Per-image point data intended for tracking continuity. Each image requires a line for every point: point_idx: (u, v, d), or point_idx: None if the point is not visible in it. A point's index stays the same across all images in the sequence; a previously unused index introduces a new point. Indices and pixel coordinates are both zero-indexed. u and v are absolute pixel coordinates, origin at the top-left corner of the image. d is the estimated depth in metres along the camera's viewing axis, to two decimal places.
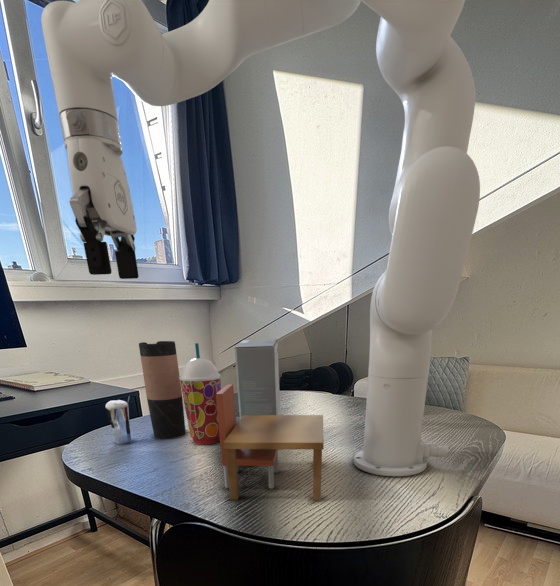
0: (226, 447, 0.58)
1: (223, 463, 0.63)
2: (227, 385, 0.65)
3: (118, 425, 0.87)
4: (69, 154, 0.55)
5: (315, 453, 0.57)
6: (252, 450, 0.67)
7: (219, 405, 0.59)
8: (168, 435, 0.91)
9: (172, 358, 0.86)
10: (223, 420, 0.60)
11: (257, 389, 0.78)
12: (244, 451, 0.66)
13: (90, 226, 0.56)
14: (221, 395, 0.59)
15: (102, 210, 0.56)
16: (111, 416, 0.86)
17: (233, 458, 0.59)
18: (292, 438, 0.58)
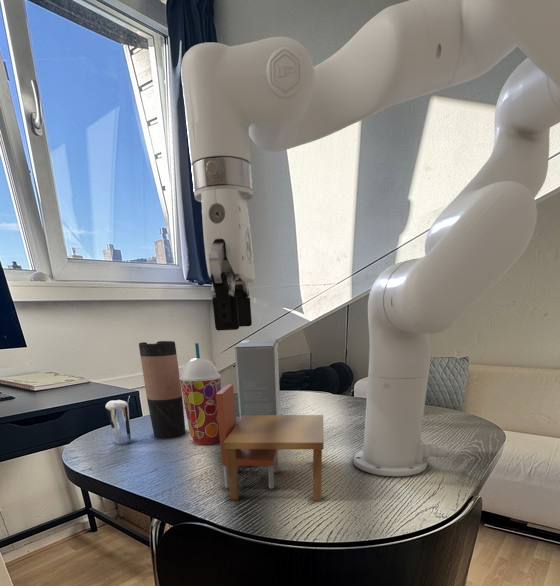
0: (226, 447, 0.58)
1: (223, 463, 0.63)
2: (227, 385, 0.65)
3: (118, 425, 0.87)
4: (204, 206, 0.50)
5: (315, 453, 0.57)
6: (252, 450, 0.67)
7: (219, 405, 0.59)
8: (168, 435, 0.91)
9: (172, 358, 0.86)
10: (223, 420, 0.60)
11: (257, 388, 0.78)
12: (244, 451, 0.66)
13: (225, 282, 0.51)
14: (221, 395, 0.59)
15: (236, 264, 0.52)
16: (111, 416, 0.86)
17: (233, 458, 0.59)
18: (292, 438, 0.58)
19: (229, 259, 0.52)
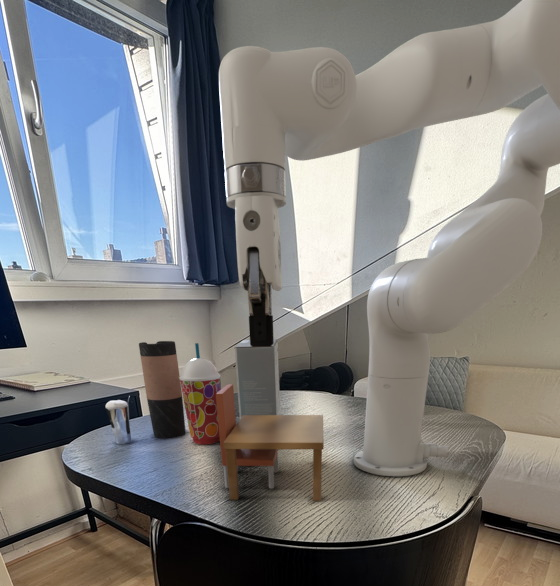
0: (226, 447, 0.58)
1: (223, 463, 0.63)
2: (227, 385, 0.65)
3: (118, 425, 0.87)
4: (239, 212, 0.49)
5: (315, 453, 0.57)
6: (252, 450, 0.67)
7: (219, 405, 0.59)
8: (168, 435, 0.91)
9: (172, 358, 0.86)
10: (223, 420, 0.60)
11: (257, 388, 0.78)
12: (244, 451, 0.66)
13: (263, 303, 0.54)
14: (221, 395, 0.59)
15: (269, 272, 0.51)
16: (111, 416, 0.86)
17: (233, 458, 0.59)
18: (292, 438, 0.58)
19: (262, 267, 0.50)
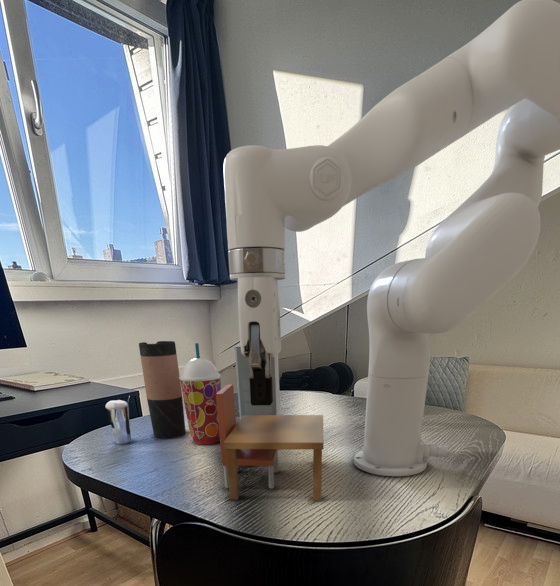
0: (226, 447, 0.58)
1: (223, 463, 0.63)
2: (227, 385, 0.65)
3: (118, 425, 0.87)
4: (241, 291, 0.52)
5: (315, 453, 0.57)
6: (252, 450, 0.67)
7: (219, 405, 0.59)
8: (168, 435, 0.91)
9: (172, 358, 0.86)
10: (223, 420, 0.60)
11: None
12: (244, 451, 0.66)
13: (263, 368, 0.58)
14: (221, 395, 0.59)
15: (269, 344, 0.54)
16: (111, 416, 0.86)
17: (233, 458, 0.59)
18: (292, 438, 0.58)
19: (262, 340, 0.54)
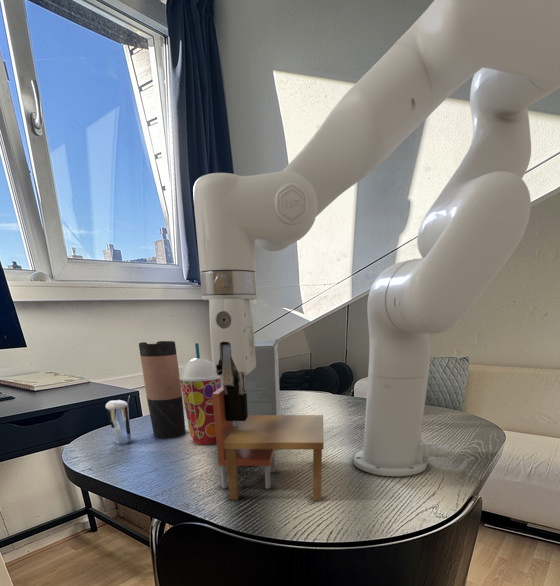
0: (226, 447, 0.58)
1: (219, 463, 0.63)
2: None
3: (118, 425, 0.87)
4: (212, 312, 0.54)
5: (315, 453, 0.57)
6: (249, 450, 0.67)
7: (216, 405, 0.59)
8: (168, 435, 0.91)
9: (172, 358, 0.86)
10: (219, 420, 0.60)
11: (257, 388, 0.78)
12: (241, 451, 0.66)
13: (237, 386, 0.59)
14: (217, 395, 0.59)
15: (240, 364, 0.56)
16: (111, 416, 0.86)
17: (233, 458, 0.59)
18: (292, 438, 0.58)
19: (234, 359, 0.55)
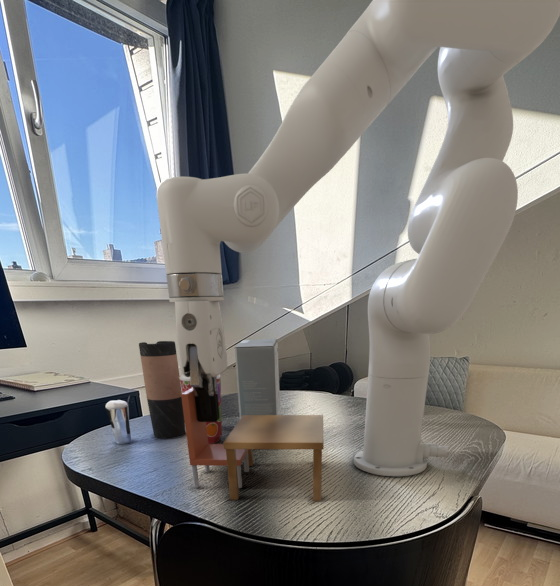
0: (226, 447, 0.58)
1: (190, 463, 0.64)
2: None
3: (118, 425, 0.87)
4: (178, 314, 0.54)
5: (315, 453, 0.57)
6: (221, 450, 0.67)
7: (185, 406, 0.60)
8: (168, 435, 0.91)
9: (172, 358, 0.86)
10: (189, 420, 0.61)
11: (257, 388, 0.78)
12: (213, 451, 0.66)
13: (206, 387, 0.60)
14: (186, 395, 0.59)
15: (207, 365, 0.56)
16: (111, 416, 0.86)
17: (233, 458, 0.59)
18: (292, 438, 0.58)
19: (200, 361, 0.56)
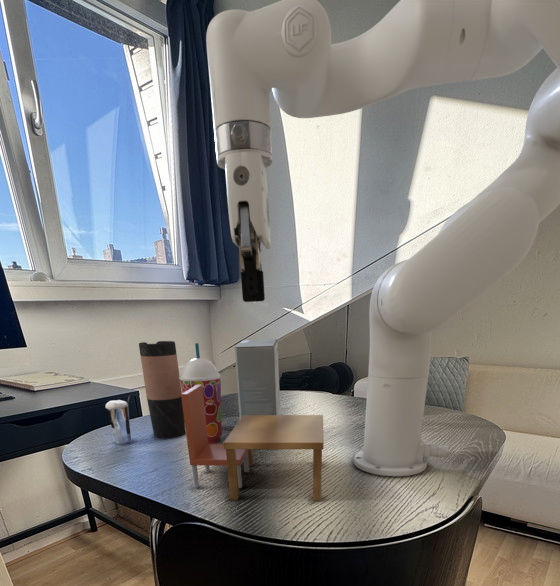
0: (226, 447, 0.58)
1: (190, 463, 0.64)
2: (196, 385, 0.65)
3: (118, 425, 0.87)
4: (229, 168, 0.52)
5: (315, 453, 0.57)
6: (221, 450, 0.67)
7: (185, 406, 0.60)
8: (168, 435, 0.91)
9: (172, 358, 0.86)
10: (189, 420, 0.61)
11: (257, 388, 0.78)
12: (213, 451, 0.66)
13: (254, 257, 0.58)
14: (186, 395, 0.59)
15: (259, 225, 0.54)
16: (111, 416, 0.86)
17: (233, 458, 0.59)
18: (292, 438, 0.58)
19: (252, 221, 0.54)
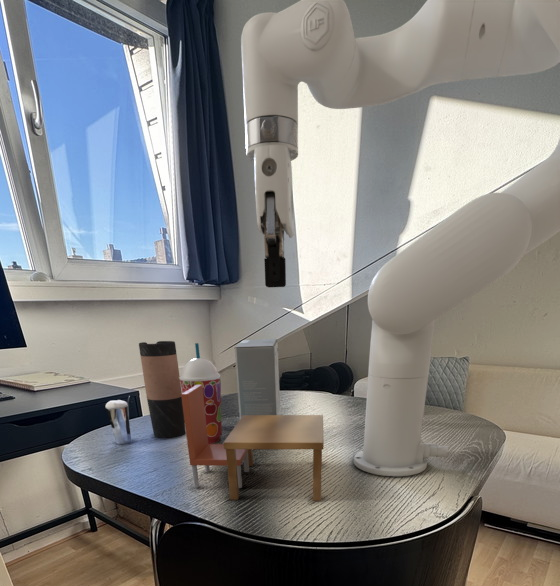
0: (226, 447, 0.58)
1: (190, 463, 0.64)
2: (196, 385, 0.65)
3: (118, 425, 0.87)
4: (258, 160, 0.56)
5: (315, 453, 0.57)
6: (221, 450, 0.67)
7: (185, 406, 0.60)
8: (168, 435, 0.91)
9: (172, 358, 0.86)
10: (189, 420, 0.61)
11: (257, 388, 0.78)
12: (213, 451, 0.66)
13: (278, 244, 0.62)
14: (186, 395, 0.59)
15: (284, 214, 0.58)
16: (111, 416, 0.86)
17: (233, 458, 0.59)
18: (292, 438, 0.58)
19: (278, 209, 0.58)
